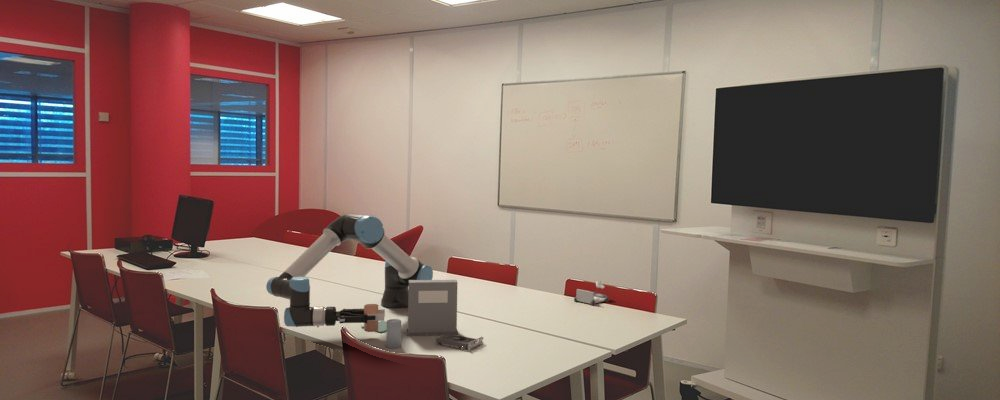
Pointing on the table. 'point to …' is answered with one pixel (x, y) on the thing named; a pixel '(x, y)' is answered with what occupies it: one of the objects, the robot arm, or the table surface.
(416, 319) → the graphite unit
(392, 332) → the slate cartridge
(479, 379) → the table surface
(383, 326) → the green mat
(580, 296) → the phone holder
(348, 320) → the robot arm
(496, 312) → the table surface
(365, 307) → the cylinder
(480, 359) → the table surface
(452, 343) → the graphics card
